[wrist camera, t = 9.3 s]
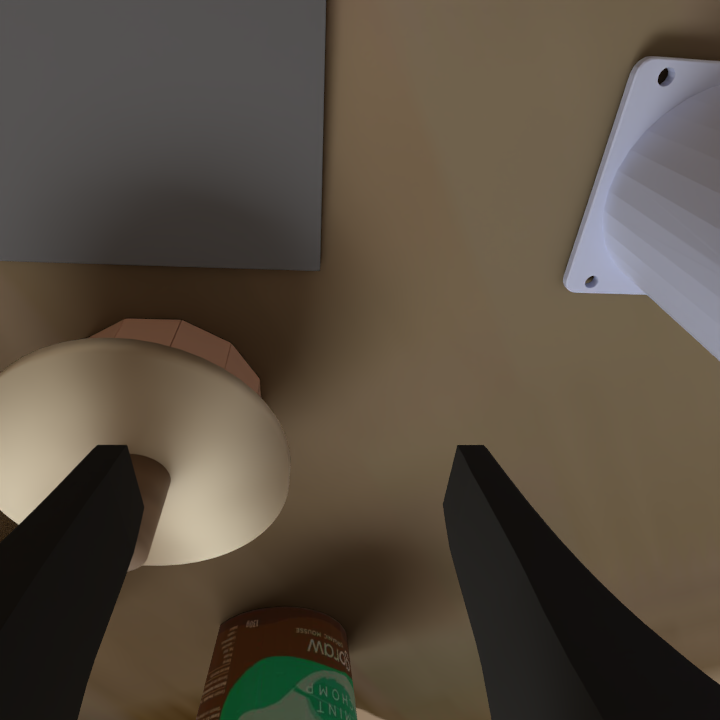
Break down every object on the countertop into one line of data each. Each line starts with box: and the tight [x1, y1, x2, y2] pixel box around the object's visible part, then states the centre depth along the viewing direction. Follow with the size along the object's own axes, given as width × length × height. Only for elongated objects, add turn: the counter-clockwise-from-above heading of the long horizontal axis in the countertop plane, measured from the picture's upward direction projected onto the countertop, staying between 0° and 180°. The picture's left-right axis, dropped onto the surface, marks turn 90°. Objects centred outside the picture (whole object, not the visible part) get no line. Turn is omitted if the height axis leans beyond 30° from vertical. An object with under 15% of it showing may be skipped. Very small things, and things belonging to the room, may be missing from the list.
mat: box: [0, 0, 326, 271], centre depth 15 cm, size 13×13×1 cm
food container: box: [196, 607, 357, 720], centre depth 30 cm, size 12×6×10 cm, turn 50°
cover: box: [0, 338, 291, 571], centre depth 17 cm, size 11×11×4 cm
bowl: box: [89, 319, 261, 397], centre depth 21 cm, size 8×8×4 cm
